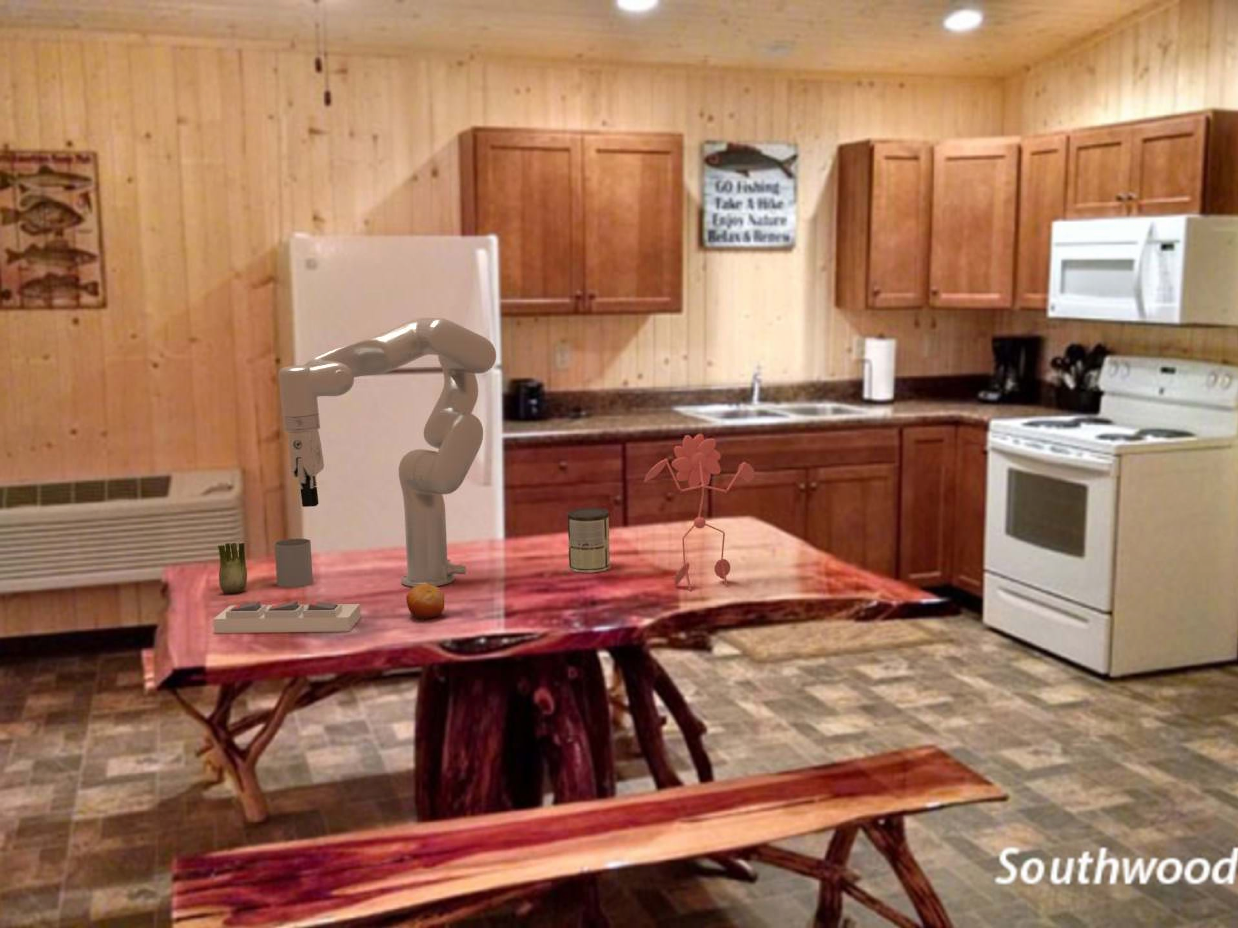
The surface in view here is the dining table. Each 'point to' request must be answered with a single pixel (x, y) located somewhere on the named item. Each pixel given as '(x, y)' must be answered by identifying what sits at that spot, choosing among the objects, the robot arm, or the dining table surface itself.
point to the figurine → (697, 467)
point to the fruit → (425, 601)
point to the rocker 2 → (321, 606)
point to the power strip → (288, 620)
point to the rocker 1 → (247, 607)
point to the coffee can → (588, 540)
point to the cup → (293, 563)
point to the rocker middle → (285, 606)
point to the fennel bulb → (232, 568)
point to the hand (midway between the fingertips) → (310, 505)
